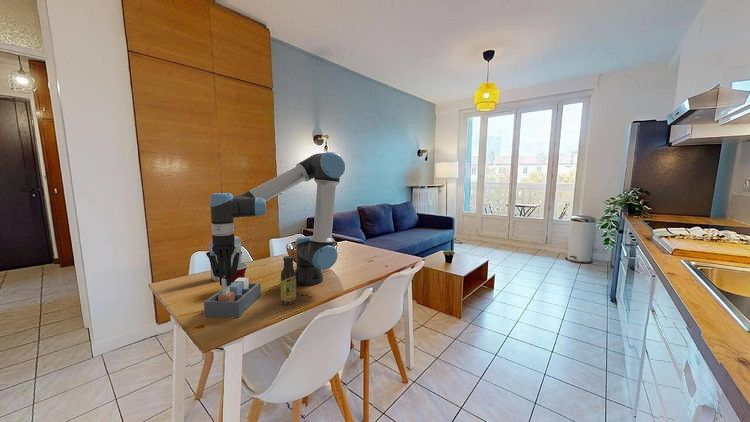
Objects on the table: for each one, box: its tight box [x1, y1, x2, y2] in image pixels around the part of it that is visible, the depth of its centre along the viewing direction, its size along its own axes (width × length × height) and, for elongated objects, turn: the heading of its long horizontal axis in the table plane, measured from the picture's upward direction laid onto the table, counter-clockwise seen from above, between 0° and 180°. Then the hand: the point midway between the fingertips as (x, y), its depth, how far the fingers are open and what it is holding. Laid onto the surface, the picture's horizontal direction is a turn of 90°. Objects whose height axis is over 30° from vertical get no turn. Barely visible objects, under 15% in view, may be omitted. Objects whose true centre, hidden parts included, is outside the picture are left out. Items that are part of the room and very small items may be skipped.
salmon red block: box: [218, 292, 235, 301], centre depth 111 cm, size 4×4×5 cm
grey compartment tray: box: [203, 282, 262, 319], centre depth 118 cm, size 13×20×6 cm, turn 179°
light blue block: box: [230, 283, 242, 294], centre depth 117 cm, size 4×4×5 cm
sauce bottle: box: [280, 255, 297, 306], centre depth 120 cm, size 6×6×20 cm
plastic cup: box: [231, 261, 249, 283], centre depth 134 cm, size 11×11×12 cm
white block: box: [234, 277, 250, 289], centre depth 123 cm, size 4×4×5 cm
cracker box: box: [208, 235, 243, 283], centre depth 150 cm, size 14×6×21 cm, turn 144°
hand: (226, 293), depth 111 cm, fingers closed
